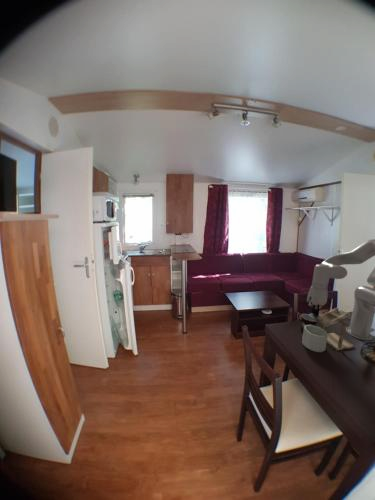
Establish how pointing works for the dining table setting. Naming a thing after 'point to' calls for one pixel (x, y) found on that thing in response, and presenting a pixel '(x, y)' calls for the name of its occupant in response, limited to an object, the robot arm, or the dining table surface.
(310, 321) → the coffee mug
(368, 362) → the dining table surface
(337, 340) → the lever stand
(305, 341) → the cup
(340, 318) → the tipping lever
